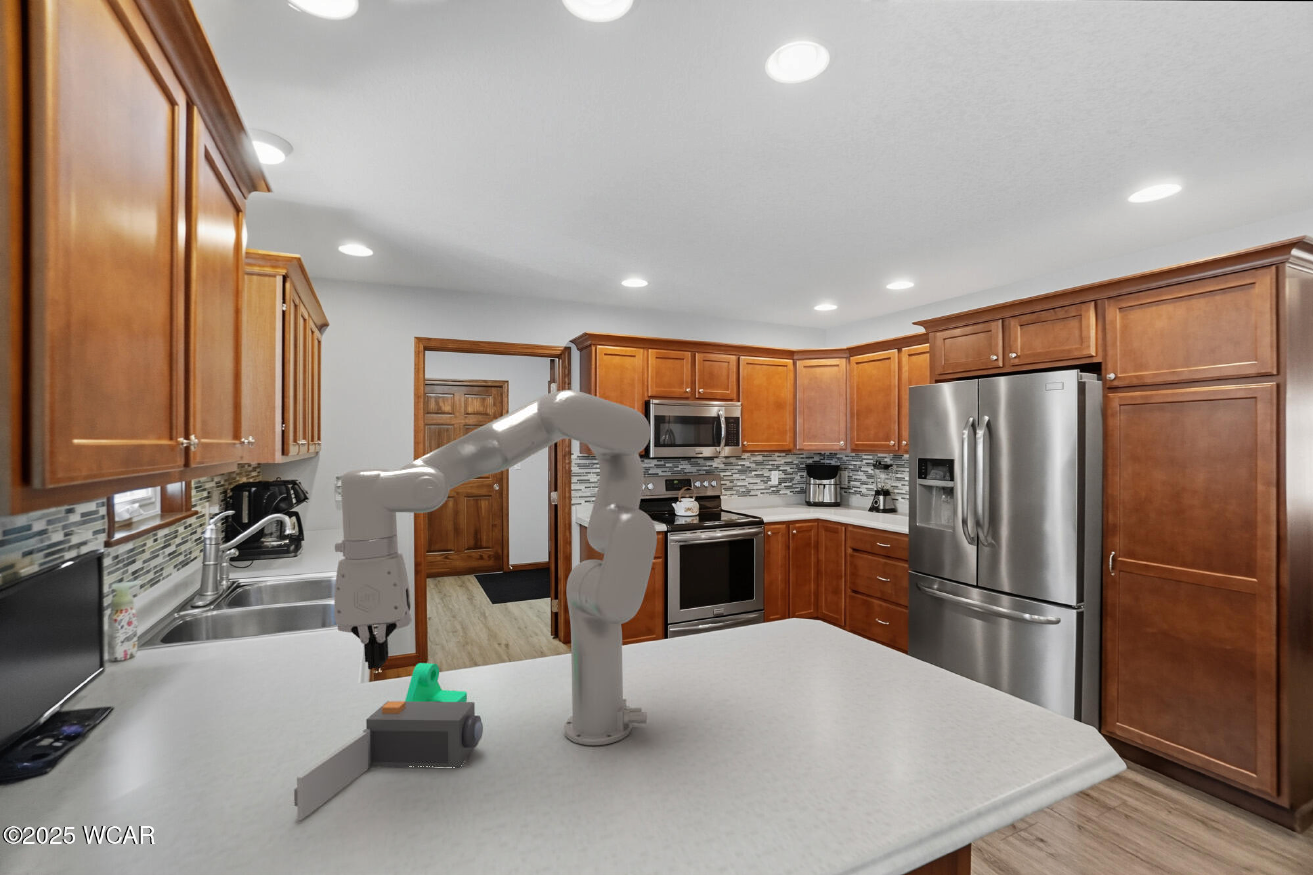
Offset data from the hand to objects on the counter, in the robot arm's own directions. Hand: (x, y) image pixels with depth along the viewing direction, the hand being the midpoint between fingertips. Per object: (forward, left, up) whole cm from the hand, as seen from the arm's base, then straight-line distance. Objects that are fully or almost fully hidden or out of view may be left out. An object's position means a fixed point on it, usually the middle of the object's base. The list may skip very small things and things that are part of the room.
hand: (377, 665), depth 94 cm
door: (+7, 0, -20) cm, 21 cm away
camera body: (-3, -11, -20) cm, 23 cm away
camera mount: (+2, -26, -20) cm, 33 cm away
